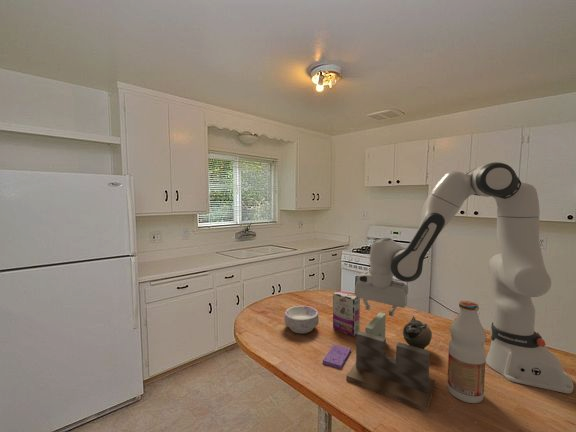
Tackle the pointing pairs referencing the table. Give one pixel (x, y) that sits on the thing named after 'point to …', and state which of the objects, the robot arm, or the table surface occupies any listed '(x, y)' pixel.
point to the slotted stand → (393, 371)
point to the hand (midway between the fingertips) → (379, 312)
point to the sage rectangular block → (377, 325)
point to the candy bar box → (346, 312)
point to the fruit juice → (467, 355)
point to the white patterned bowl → (301, 318)
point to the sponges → (337, 356)
